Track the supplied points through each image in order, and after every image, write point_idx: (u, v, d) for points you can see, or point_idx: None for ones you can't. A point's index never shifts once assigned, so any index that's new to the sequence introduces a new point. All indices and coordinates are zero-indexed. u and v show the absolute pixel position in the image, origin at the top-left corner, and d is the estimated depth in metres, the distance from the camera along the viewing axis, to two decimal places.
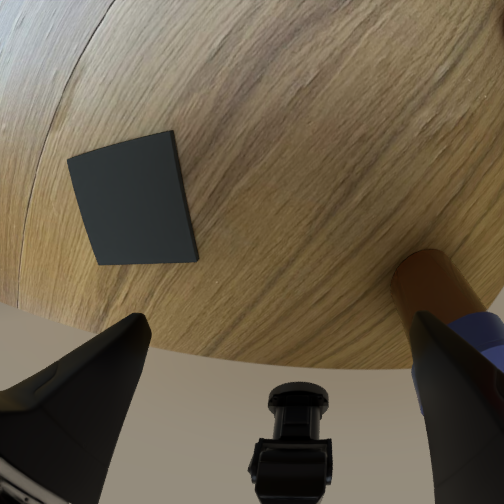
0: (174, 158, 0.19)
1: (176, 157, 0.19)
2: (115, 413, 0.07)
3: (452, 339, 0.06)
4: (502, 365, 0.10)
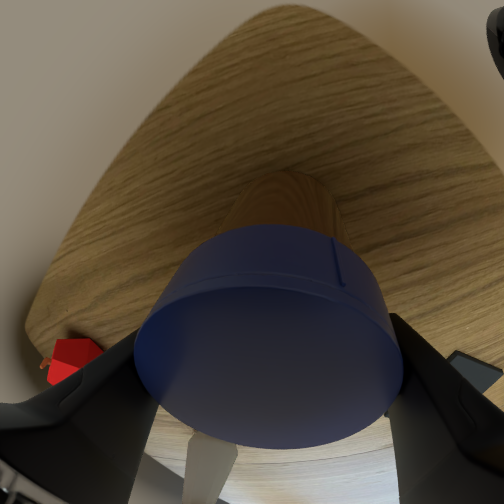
0: None
1: None
2: (143, 420, 0.07)
3: (416, 344, 0.06)
4: (193, 404, 0.07)
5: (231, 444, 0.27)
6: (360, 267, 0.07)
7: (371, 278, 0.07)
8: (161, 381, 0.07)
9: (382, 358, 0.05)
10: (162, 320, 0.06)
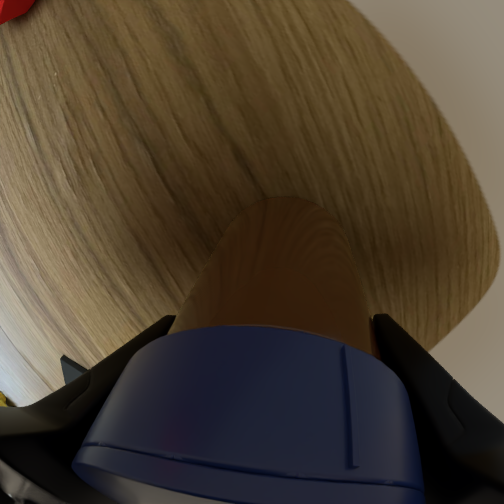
0: (76, 369, 0.21)
1: (78, 367, 0.21)
2: None
3: (407, 345, 0.06)
4: None
5: None
6: (383, 393, 0.04)
7: (399, 400, 0.04)
8: (118, 499, 0.04)
9: None
10: (89, 472, 0.03)
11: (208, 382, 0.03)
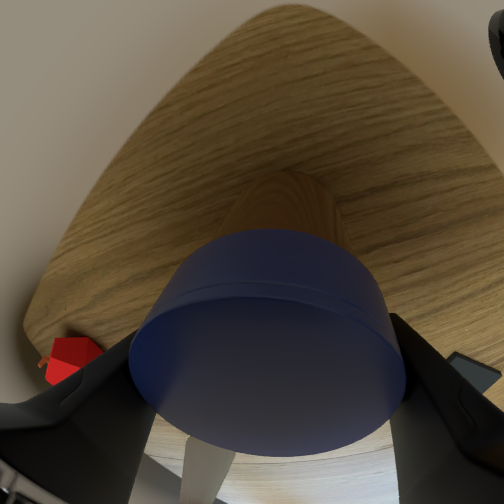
0: None
1: None
2: (143, 420, 0.07)
3: (416, 344, 0.06)
4: (291, 441, 0.07)
5: None
6: (167, 285, 0.07)
7: (176, 272, 0.07)
8: (261, 448, 0.08)
9: (173, 328, 0.05)
10: (187, 430, 0.08)
11: None
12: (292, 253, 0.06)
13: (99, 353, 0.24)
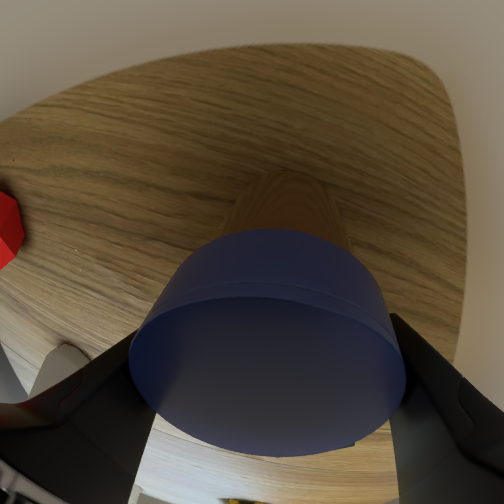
0: None
1: None
2: (143, 421, 0.07)
3: (416, 344, 0.06)
4: (291, 441, 0.07)
5: None
6: (167, 284, 0.07)
7: (176, 272, 0.07)
8: (261, 448, 0.08)
9: (173, 328, 0.05)
10: (187, 430, 0.08)
11: None
12: (292, 253, 0.06)
13: (18, 223, 0.18)
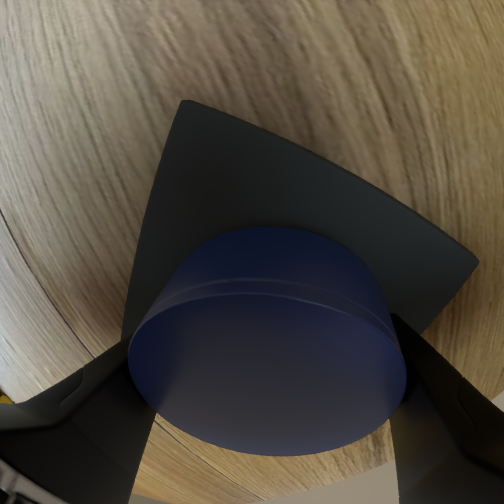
0: (250, 126, 0.07)
1: (253, 125, 0.07)
2: (143, 421, 0.07)
3: (416, 344, 0.06)
4: (291, 441, 0.07)
5: None
6: (166, 283, 0.07)
7: (176, 270, 0.07)
8: (261, 448, 0.08)
9: (172, 326, 0.05)
10: (186, 430, 0.08)
11: None
12: (292, 251, 0.06)
13: None
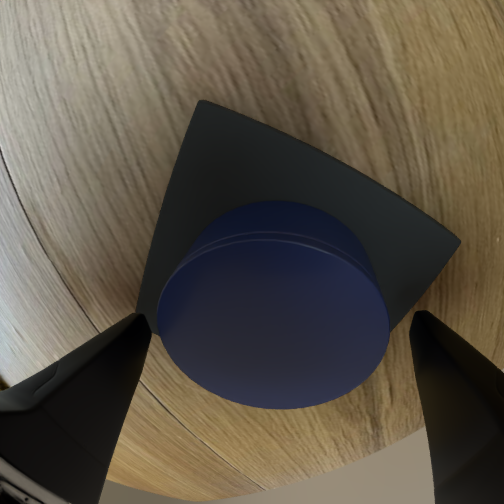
0: (257, 123, 0.08)
1: (259, 122, 0.08)
2: (115, 413, 0.07)
3: (452, 339, 0.06)
4: (295, 389, 0.09)
5: None
6: None
7: (198, 237, 0.09)
8: (268, 399, 0.09)
9: (200, 272, 0.07)
10: (202, 383, 0.09)
11: None
12: (292, 215, 0.08)
13: None
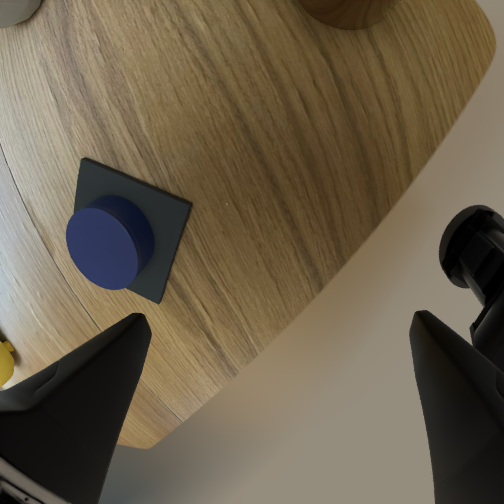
0: (98, 166, 0.19)
1: (100, 165, 0.20)
2: (115, 413, 0.07)
3: (452, 339, 0.06)
4: (114, 274, 0.20)
5: (24, 12, 0.12)
6: None
7: None
8: (107, 282, 0.21)
9: (74, 220, 0.19)
10: (84, 273, 0.21)
11: None
12: (104, 200, 0.19)
13: None
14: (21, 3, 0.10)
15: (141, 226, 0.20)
